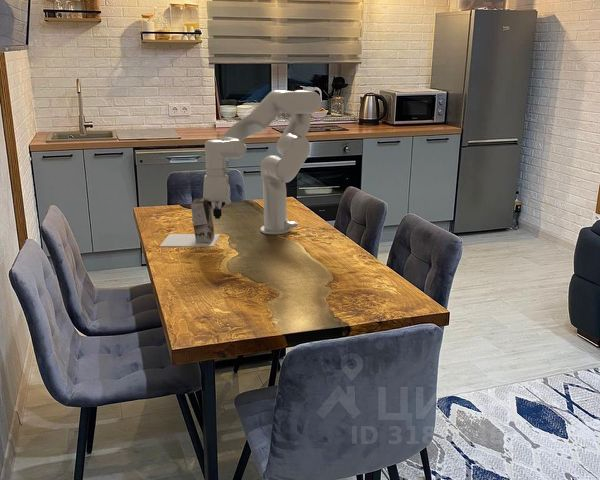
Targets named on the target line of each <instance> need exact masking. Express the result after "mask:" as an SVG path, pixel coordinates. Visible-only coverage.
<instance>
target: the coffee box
mask: <svg viewBox="0 0 600 480" xmlns="http://www.w3.org/2000/svg"><path fill="white" fill-rule="evenodd" d="M190 207H191V208H190V209H191V215H192V223H193V224H192V225H193V231H194V234H195V240H196V243H203V242H211V241H212V239H213V238H214V236H215V234H216V233H215V228H214V227H215V226H214V220H213V210H212V207H211V206H210V205H209V204H208V201H205V200H204V198H203V197H200V198H194V199H193V200H192V201H191V203H190Z"/></svg>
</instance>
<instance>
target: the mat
mask: <svg viewBox="0 0 600 480" xmlns="http://www.w3.org/2000/svg"><path fill="white" fill-rule="evenodd" d="M214 234H215V236H214V238H213V239H212V241H211V242H203V243H196V240H195V233H169V234H168V235H167V236H166V238H165V239H164V240H163V241H162V242H161V244H159V247H160V248H161V247H162V248H163V247H165V248H167V247H169V248H171V247H172V248H176V247H177V248H183V247H184V248H185V247H187V248H191V247H192V248H213V247H215V245H216V243H217V241H218V239H219V238H220V235H221V234H220V233H214Z"/></svg>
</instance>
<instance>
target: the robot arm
mask: <svg viewBox="0 0 600 480" xmlns="http://www.w3.org/2000/svg"><path fill="white" fill-rule="evenodd" d="M318 93H319V92H318ZM318 93H317V92H316V91H312V90H305V89H304V90H303V89H298V90H294V91H293V90H292V91H291V90H280V89H276V90H272V91H270V92H269V93H268V94H267V95H266V96H265V97H264V98H263V99H262V100H261V101H260V102H259V104H257V106H255V108H254V109H253V110H252V111H251V112H250V113H249V114H247V115H246V116H244V117H243V118H242V119H240V120H239V121H237V122H235V123H234V124H233V125H232V126H230V127H229V128H228V129H227V130H226V132H224V134H222V136H221V137H220V138H219V139H208V140H206V141H204V142H205V143H204V154H205V155H204V156H205V157H204V158H205V175H204V177H203V193H202V198H204V200H205V201H208V204H209V205H210V206H211V210H212V217H214V219H215V220H220V218H221V217H222V216H223V215H222V208H223V207H225V205H230V204H231V203H232V200H231V187H230V186H231V185H230V180H229V175H228V174H229V173H230V169H228V168H227V167H226V159H235V160H236V159H240V158H243V157H244V156H245V155H246V154H247V145H246V143H245V142H244V140H245V139H247V138H248V137H250V136H252V135H254V134H259V133H261V132H263V131H265V130H266V129H267V128H269V126H270V125H271V124H272V123H273V121H274V120H276V119H277V117H278V116H279V115H280V114H281V113H282V114H287V115H288V114H290V116H291V117H290V120H289V122H288V124H287V125H286V127H285V129H284V130H283V132H282V134H281V136H280V138H279V139H278V140H277V143H276V150H277V152H278V153H279V154H280V155H281V156H282V157H281V156H279V155H267V156H266V157H264V158H263V160H262V161H261V163H260V175H261V180H262V193H263V194H262V195H263V225H262V226H261V227H260V233H262V234H265V235H271V236H272V235H274V236H275V235H286V234H288V233H289V232H291V228H298V222H295V221H289V218H287V213H288V212H287V184H288V183H290V182H291V181H292V180H294V178H295V177H297V175H298V174H299V171H300V169H301V168H302V167H303V165H304V163H305V161H306V160H307V159H308V156H309V155H310V151H311V150H310V149H311V146H310V142H309V140H308V138H306V136H307V134H308V132H309V130H310V128H311V122H312V120H311V114H315V113H316V112H318V111H319V110H320V108H321V107H322V97H321V96H320V94H318ZM286 183H287V184H286ZM216 202H217V203H218V206H217V203H216Z"/></svg>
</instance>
